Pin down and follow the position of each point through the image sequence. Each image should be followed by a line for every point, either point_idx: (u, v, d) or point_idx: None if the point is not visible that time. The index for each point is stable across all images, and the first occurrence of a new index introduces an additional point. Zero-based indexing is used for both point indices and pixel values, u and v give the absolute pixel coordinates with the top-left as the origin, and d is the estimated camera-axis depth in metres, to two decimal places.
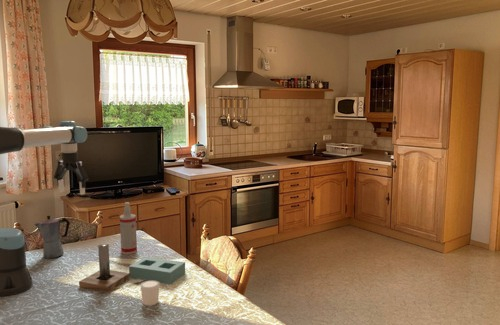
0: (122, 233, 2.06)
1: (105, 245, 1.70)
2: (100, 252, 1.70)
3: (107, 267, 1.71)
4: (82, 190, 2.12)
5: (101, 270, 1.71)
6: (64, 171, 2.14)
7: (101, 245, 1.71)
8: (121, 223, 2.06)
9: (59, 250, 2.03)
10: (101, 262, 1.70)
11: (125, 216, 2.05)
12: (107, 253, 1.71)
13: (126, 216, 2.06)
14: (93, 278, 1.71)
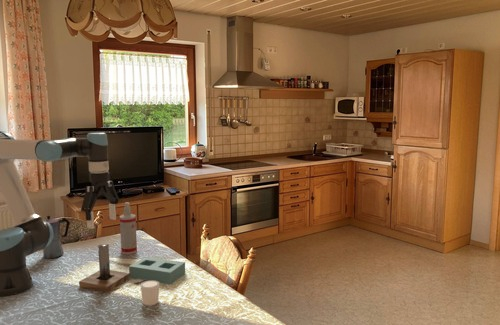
0: (122, 233, 2.06)
1: (105, 245, 1.71)
2: (100, 252, 1.70)
3: (107, 267, 1.71)
4: (88, 223, 1.64)
5: (101, 270, 1.71)
6: (105, 194, 1.73)
7: (101, 245, 1.71)
8: (121, 223, 2.06)
9: (59, 250, 2.03)
10: (101, 262, 1.70)
11: (125, 216, 2.05)
12: (107, 253, 1.71)
13: (126, 216, 2.06)
14: (93, 278, 1.71)
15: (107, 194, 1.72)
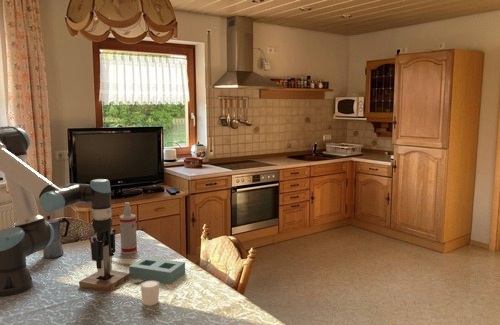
0: (122, 233, 2.06)
1: (105, 245, 1.70)
2: None
3: (107, 267, 1.71)
4: (99, 271, 1.70)
5: None
6: (105, 242, 1.73)
7: None
8: (121, 223, 2.06)
9: (59, 250, 2.03)
10: None
11: (125, 216, 2.05)
12: (107, 253, 1.71)
13: (126, 216, 2.06)
14: (93, 278, 1.71)
15: (107, 242, 1.72)
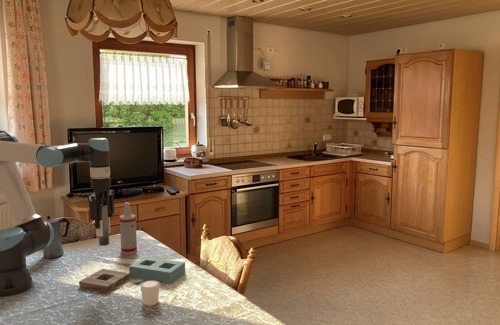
0: (122, 233, 2.06)
1: (104, 205, 1.68)
2: None
3: (106, 227, 1.69)
4: (97, 231, 1.68)
5: None
6: (103, 202, 1.70)
7: None
8: (121, 223, 2.06)
9: (59, 250, 2.03)
10: None
11: (125, 216, 2.05)
12: (106, 213, 1.69)
13: (126, 216, 2.06)
14: (93, 278, 1.71)
15: (105, 202, 1.70)
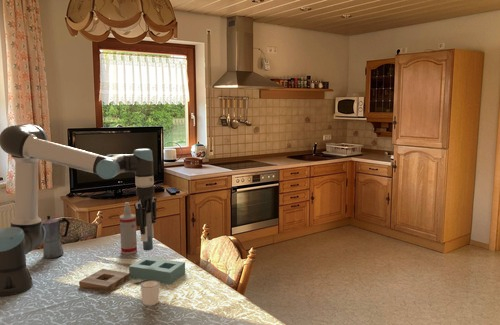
0: (122, 233, 2.06)
1: (148, 212, 1.78)
2: None
3: (150, 233, 1.79)
4: (142, 236, 1.78)
5: None
6: (147, 209, 1.80)
7: None
8: (121, 223, 2.06)
9: (59, 250, 2.03)
10: None
11: (125, 216, 2.05)
12: (150, 220, 1.78)
13: (126, 216, 2.06)
14: (93, 278, 1.71)
15: (149, 209, 1.80)
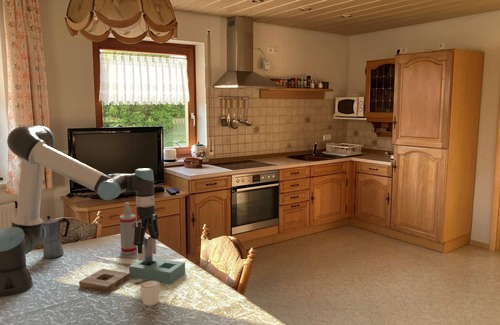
0: (122, 233, 2.06)
1: (149, 238, 1.80)
2: (145, 244, 1.79)
3: (150, 258, 1.80)
4: (140, 255, 1.77)
5: (145, 261, 1.80)
6: (149, 227, 1.82)
7: (145, 237, 1.80)
8: (121, 223, 2.06)
9: (59, 250, 2.03)
10: (145, 254, 1.79)
11: (125, 216, 2.05)
12: (151, 245, 1.80)
13: (126, 216, 2.06)
14: (93, 278, 1.71)
15: (150, 227, 1.82)
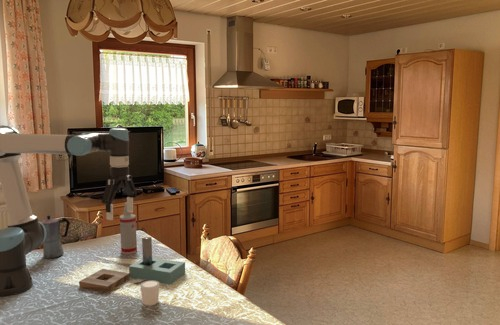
0: (122, 233, 2.06)
1: (148, 238, 1.80)
2: (144, 244, 1.79)
3: (150, 259, 1.80)
4: (108, 215, 1.71)
5: (145, 262, 1.80)
6: (124, 188, 1.80)
7: (144, 238, 1.80)
8: (121, 223, 2.06)
9: (59, 250, 2.03)
10: (145, 254, 1.79)
11: (125, 216, 2.05)
12: (150, 245, 1.80)
13: (126, 216, 2.06)
14: (93, 278, 1.71)
15: (126, 188, 1.79)
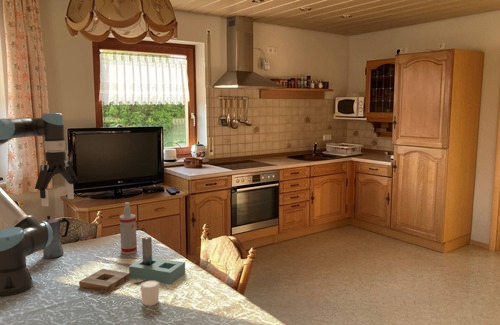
0: (122, 233, 2.06)
1: (148, 238, 1.80)
2: (144, 244, 1.79)
3: (150, 259, 1.80)
4: (43, 201, 1.67)
5: (145, 262, 1.80)
6: (62, 174, 1.76)
7: (144, 238, 1.80)
8: (121, 223, 2.06)
9: (59, 250, 2.03)
10: (145, 254, 1.79)
11: (125, 216, 2.05)
12: (150, 245, 1.80)
13: (125, 216, 2.06)
14: (93, 278, 1.71)
15: (64, 174, 1.75)
